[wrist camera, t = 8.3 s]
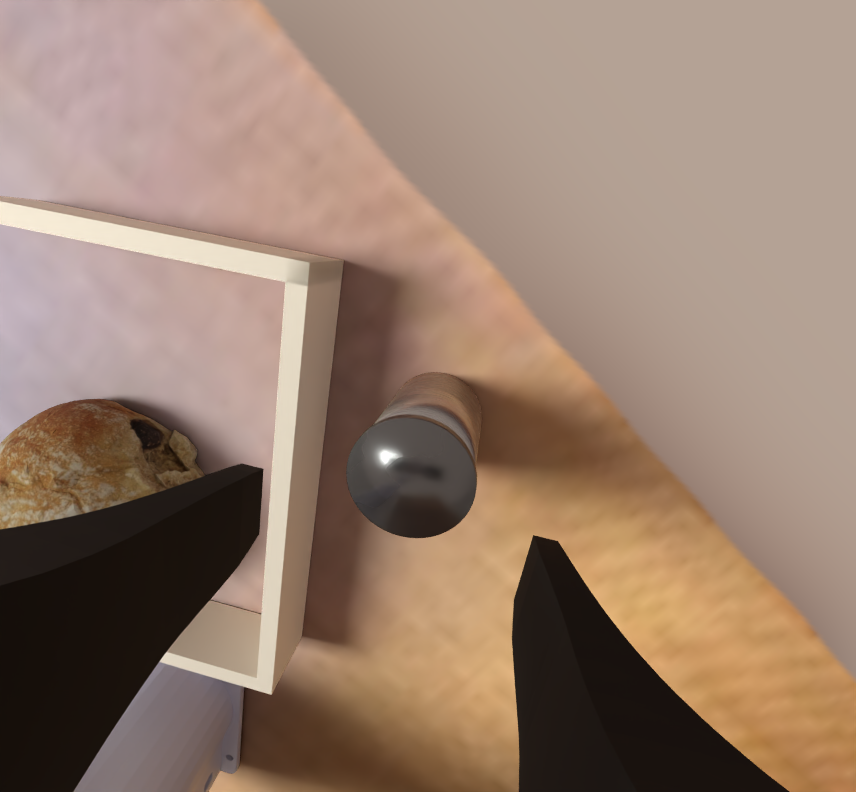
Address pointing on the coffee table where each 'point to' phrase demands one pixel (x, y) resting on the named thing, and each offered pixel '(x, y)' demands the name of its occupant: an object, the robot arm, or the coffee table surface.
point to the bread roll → (87, 461)
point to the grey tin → (419, 458)
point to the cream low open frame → (293, 441)
